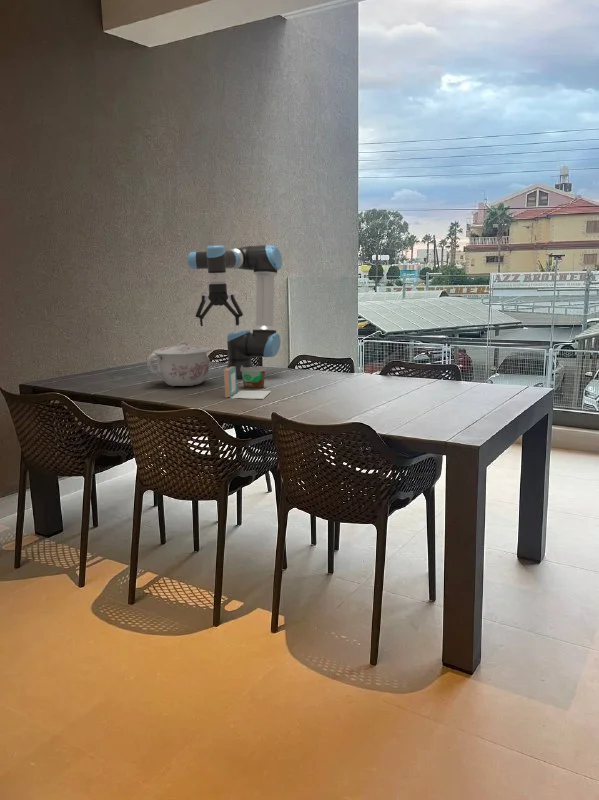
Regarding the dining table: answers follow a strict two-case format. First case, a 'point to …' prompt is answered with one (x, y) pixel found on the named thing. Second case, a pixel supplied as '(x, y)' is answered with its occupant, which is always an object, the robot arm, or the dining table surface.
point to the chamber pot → (181, 364)
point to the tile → (230, 381)
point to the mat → (251, 394)
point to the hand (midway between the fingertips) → (220, 333)
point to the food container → (253, 376)
